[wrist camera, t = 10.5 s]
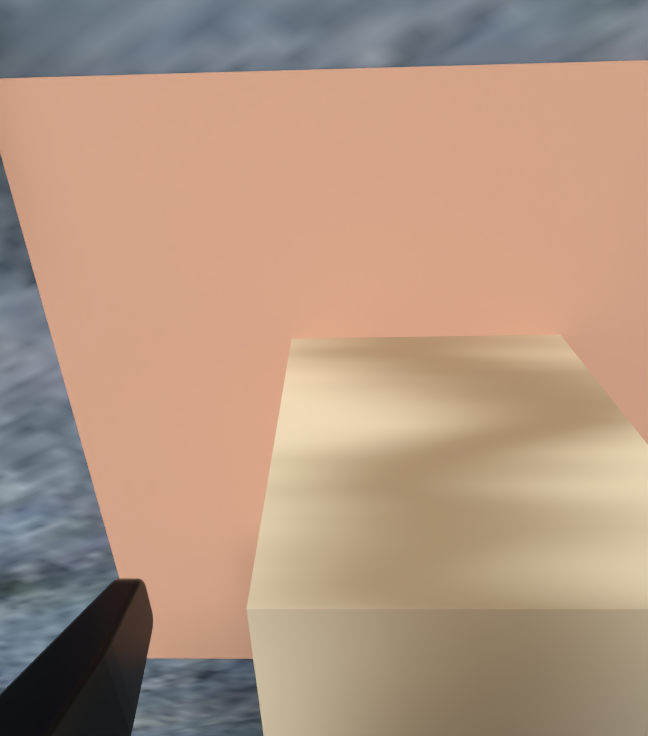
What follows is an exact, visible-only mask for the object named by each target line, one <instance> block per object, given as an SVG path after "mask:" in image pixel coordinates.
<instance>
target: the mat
mask: <svg viewBox="0 0 648 736" xmlns="http://www.w3.org/2000/svg"><path fill="white" fill-rule="evenodd" d="M0 154H1V157H2V161H3V164H4V168H5V172H6V175H7V179H8V182H9V186H10V189H11V193H12V197H13V200H14V204H15V207H16V211H17V214H18V218H19V221H20V225H21V229H22V232H23V236H24V239H25V243H26V246H27V250H28V254H29V257H30V261H31V264H32V268H33V271H34V275H35V279H36V282H37V286H38V289H39V293H40V296H41V300H42V304H43V307H44V311H45V314H46V318H47V321H48V325H49V329H50V332H51V336H52V339H53V343H54V346H55V350H56V353H57V357H58V361H59V364H60V368H61V371H62V375H63V378H64V382H65V386H66V389H67V393H68V396H69V400H70V403H71V407H72V411H73V414H74V418H75V421H76V425H77V428H78V432H79V436H80V439H81V443H82V446H83V450H84V453H85V457H86V461H87V464H88V468H89V471H90V475H91V478H92V482H93V485H94V489H95V493H96V496H97V500H98V503H99V507H100V510H101V514H102V518H103V521H104V525H105V528H106V532H107V535H108V539H109V543H110V546H111V550H112V553H113V557H114V560H115V564H116V568H117V571H118V575H119V578H120V579H121V578H139V579H142V580H143V581H144V583H145V585H146V589H147V593H148V597H149V601H150V605H151V609H152V613H153V629H152V635H151V640H150V645H149V649H148V654H147V658H197V659H253V653H252V646H251V639H250V631H249V624H248V617H247V610H246V609H247V603H248V597H249V591H250V585H251V579H252V573H253V567H254V561H255V555H256V549H257V543H258V537H259V531H260V525H261V519H262V513H263V507H264V501H265V495H266V489H267V483H268V477H269V471H270V465H271V459H272V453H273V447H274V441H275V435H276V429H277V423H278V417H279V411H280V405H281V399H282V393H283V387H284V381H285V375H286V369H287V363H288V357H289V351H290V345H291V339H304V338H370V337H436V336H501V335H561V336H562V337H563V339H564V340H565V341H566V342H567V344H568V345H569V346H570V347H571V349H572V350H573V351H574V353H575V354H576V355H577V356H578V358H579V359H580V360H581V361H582V363H583V364H584V365H585V366H586V368H587V369H588V370H589V371H590V373H591V374H592V375H593V376H594V378H595V379H596V380H597V381H598V383H599V384H600V385H601V386H602V388H603V389H604V390H605V392H606V393H607V394H608V395H609V397H610V398H611V399H612V400H613V402H614V403H615V404H616V405H617V407H618V408H619V409H620V410H621V412H622V413H623V414H624V415H625V417H626V418H627V419H628V420H629V422H630V423H631V424H632V425H633V427H634V428H635V429H636V431H637V432H638V433H639V434H640V436H641V437H642V438H643V439H644V441H645V442H646V443H647V444H648V60H639V61H603V62H567V63H532V64H496V65H461V66H425V67H389V68H354V69H318V70H282V71H247V72H211V73H176V74H140V75H104V76H69V77H33V78H0Z"/></svg>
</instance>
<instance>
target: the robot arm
mask: <svg viewBox="0 0 648 736" xmlns="http://www.w3.org/2000/svg"><path fill="white" fill-rule="evenodd" d="M152 629H153V613H152V609H151V605H150V601H149V597H148V593H147V589H146V585H145V583H144V581H143V580H142V579H139V578H121V579H117V580H115V581H113V582H112V583H111V584H110V585H109V586H108V587H107V588H106V589H105V590H104V591H103V592H102V593H101V594H100V595H99V596H98V597H97V598H96V599H95V600H94V601H93V602H92V603H91V604H90V605H89V606H88V607H87V608H86V609H85V610H84V611H83V612H82V613H81V614H80V615H79V616H78V617H77V618H76V619H75V620H74V621H73V622H72V623H71V624H70V625H69V626H68V627H67V628H66V629H65V630H64V631H63V632H62V633H61V634H60V635H59V636H58V637H57V638H56V639H55V640H54V641H53V642H52V643H51V644H50V645H49V646H48V647H47V648H46V649H45V650H44V651H43V652H42V653H41V654H40V655H39V656H38V657H37V658H36V659H35V660H34V661H33V662H32V663H31V664H30V665H29V666H28V667H27V668H26V669H25V670H24V671H23V672H22V673H21V674H20V675H19V676H18V677H17V678H16V679H15V680H14V681H13V682H12V683H11V684H10V685H9V686H8V687H7V688H6V689H5V690H4V691H3V692H2V693H1V694H0V736H131V732H132V728H133V723H134V719H135V714H136V709H137V704H138V699H139V694H140V689H141V684H142V679H143V674H144V669H145V664H146V659H147V654H148V649H149V645H150V640H151V635H152Z"/></svg>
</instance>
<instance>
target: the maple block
mask: <svg viewBox="0 0 648 736" xmlns="http://www.w3.org/2000/svg"><path fill="white" fill-rule="evenodd" d="M246 610H247V617H248V624H249V631H250V639H251V646H252V653H253V661H254V668H255V675H256V683H257V690H258V697H259V705H260V712H261V719H262V726H263V734H264V736H648V444H647V443H646V442H645V441H644V439H643V438H642V437H641V436H640V434H639V433H638V432H637V431H636V429H635V428H634V427H633V425H632V424H631V423H630V422H629V420H628V419H627V418H626V417H625V415H624V414H623V413H622V412H621V410H620V409H619V408H618V407H617V405H616V404H615V403H614V402H613V400H612V399H611V398H610V397H609V395H608V394H607V393H606V392H605V390H604V389H603V388H602V386H601V385H600V384H599V383H598V381H597V380H596V379H595V378H594V376H593V375H592V374H591V373H590V371H589V370H588V369H587V368H586V366H585V365H584V364H583V363H582V361H581V360H580V359H579V358H578V356H577V355H576V354H575V353H574V351H573V350H572V349H571V347H570V346H569V345H568V344H567V342H566V341H565V340H564V339H563V337H562V336H561V335H501V336H436V337H370V338H304V339H291V345H290V351H289V357H288V363H287V369H286V375H285V381H284V387H283V393H282V399H281V405H280V411H279V417H278V423H277V429H276V435H275V441H274V447H273V453H272V459H271V465H270V471H269V477H268V483H267V489H266V495H265V501H264V507H263V513H262V519H261V525H260V531H259V537H258V543H257V549H256V555H255V561H254V567H253V573H252V579H251V585H250V591H249V597H248V603H247V609H246Z"/></svg>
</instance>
